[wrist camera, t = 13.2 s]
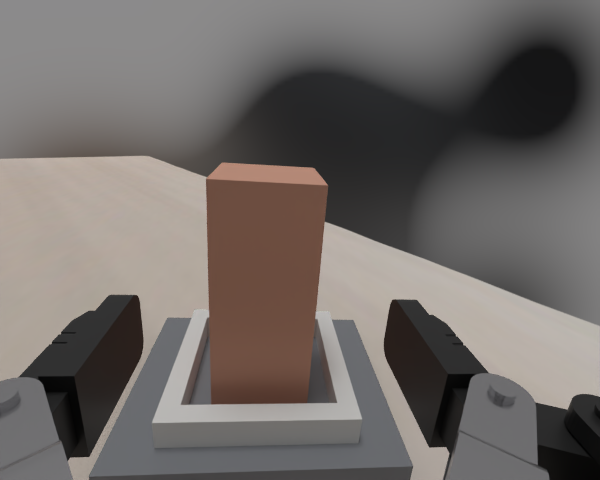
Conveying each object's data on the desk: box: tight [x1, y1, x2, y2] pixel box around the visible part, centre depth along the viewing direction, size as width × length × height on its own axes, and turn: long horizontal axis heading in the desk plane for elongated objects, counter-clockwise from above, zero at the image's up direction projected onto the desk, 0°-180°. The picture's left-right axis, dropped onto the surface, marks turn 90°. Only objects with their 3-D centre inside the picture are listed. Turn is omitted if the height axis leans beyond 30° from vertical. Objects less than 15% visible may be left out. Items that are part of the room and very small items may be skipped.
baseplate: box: [89, 309, 413, 480], centre depth 21 cm, size 14×12×3 cm
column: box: [206, 163, 328, 405], centre depth 19 cm, size 5×5×12 cm
